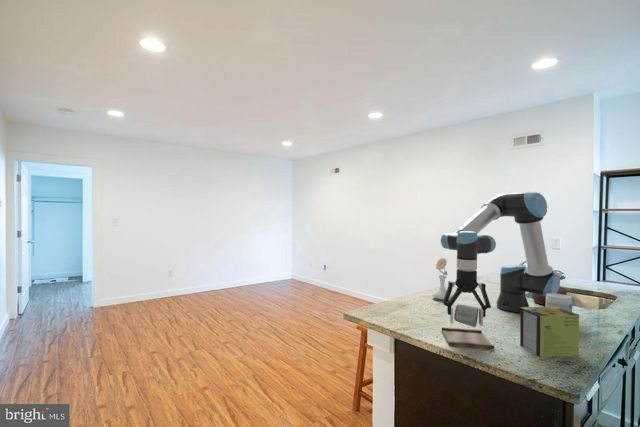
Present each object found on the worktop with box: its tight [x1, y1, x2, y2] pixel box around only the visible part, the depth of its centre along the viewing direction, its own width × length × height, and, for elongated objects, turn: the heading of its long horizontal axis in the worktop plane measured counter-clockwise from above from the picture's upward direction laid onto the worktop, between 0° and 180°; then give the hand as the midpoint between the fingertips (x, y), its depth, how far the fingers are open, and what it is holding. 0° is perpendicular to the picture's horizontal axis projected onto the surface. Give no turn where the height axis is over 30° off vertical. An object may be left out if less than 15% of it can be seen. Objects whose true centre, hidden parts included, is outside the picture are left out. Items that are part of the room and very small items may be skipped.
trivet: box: [441, 326, 495, 350], centre depth 128 cm, size 16×16×2 cm
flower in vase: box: [432, 257, 453, 301], centre depth 188 cm, size 13×11×25 cm
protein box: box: [519, 306, 580, 358], centre depth 119 cm, size 10×15×16 cm
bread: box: [531, 285, 568, 306], centre depth 190 cm, size 16×36×8 cm, turn 135°
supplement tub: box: [545, 293, 573, 312], centre depth 143 cm, size 10×10×15 cm
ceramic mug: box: [453, 303, 479, 328], centre depth 127 cm, size 11×8×8 cm
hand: (466, 323), depth 128 cm, fingers closed on ceramic mug, 10 cm apart
